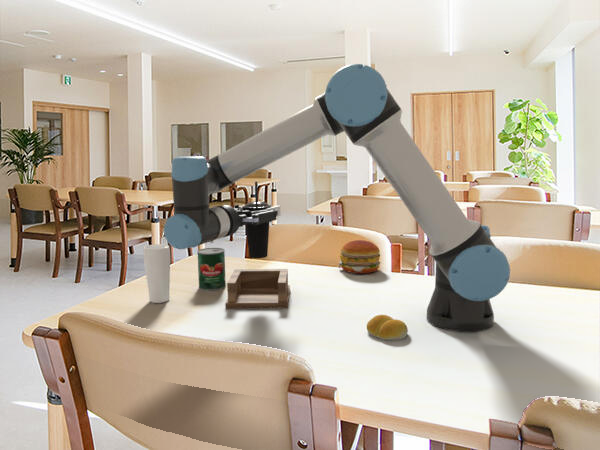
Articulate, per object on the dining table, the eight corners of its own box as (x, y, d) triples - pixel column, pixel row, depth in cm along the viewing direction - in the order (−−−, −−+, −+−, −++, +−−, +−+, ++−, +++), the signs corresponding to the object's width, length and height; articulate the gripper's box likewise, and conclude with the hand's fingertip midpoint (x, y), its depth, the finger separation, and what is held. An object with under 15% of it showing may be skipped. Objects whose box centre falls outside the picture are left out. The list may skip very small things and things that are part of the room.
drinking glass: (177, 300, 142) (174, 246, 139) (155, 306, 137) (152, 250, 134) (163, 295, 146) (160, 243, 144) (141, 301, 142) (138, 246, 139)
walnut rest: (287, 308, 134) (287, 283, 133) (225, 308, 134) (224, 284, 133) (289, 290, 150) (289, 268, 149) (234, 290, 150) (233, 268, 149)
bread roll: (392, 345, 110) (392, 327, 110) (360, 333, 117) (360, 316, 116) (416, 335, 116) (416, 317, 115) (384, 324, 122) (384, 308, 122)
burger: (379, 276, 163) (380, 245, 161) (336, 275, 166) (336, 244, 164) (380, 266, 176) (381, 237, 175) (340, 265, 179) (340, 236, 177)
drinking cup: (259, 252, 146) (257, 180, 142) (278, 256, 140) (276, 181, 137) (238, 256, 140) (235, 182, 137) (256, 261, 135) (254, 183, 132)
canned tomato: (206, 292, 149) (204, 254, 147) (194, 286, 155) (192, 250, 153) (230, 287, 153) (229, 250, 152) (218, 281, 160) (216, 246, 158)
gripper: (184, 235, 127) (235, 221, 148) (255, 241, 119) (299, 225, 139) (182, 204, 126) (234, 194, 146) (254, 208, 117) (299, 197, 138)
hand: (266, 209), depth 143 cm, fingers closed on drinking cup, 7 cm apart
